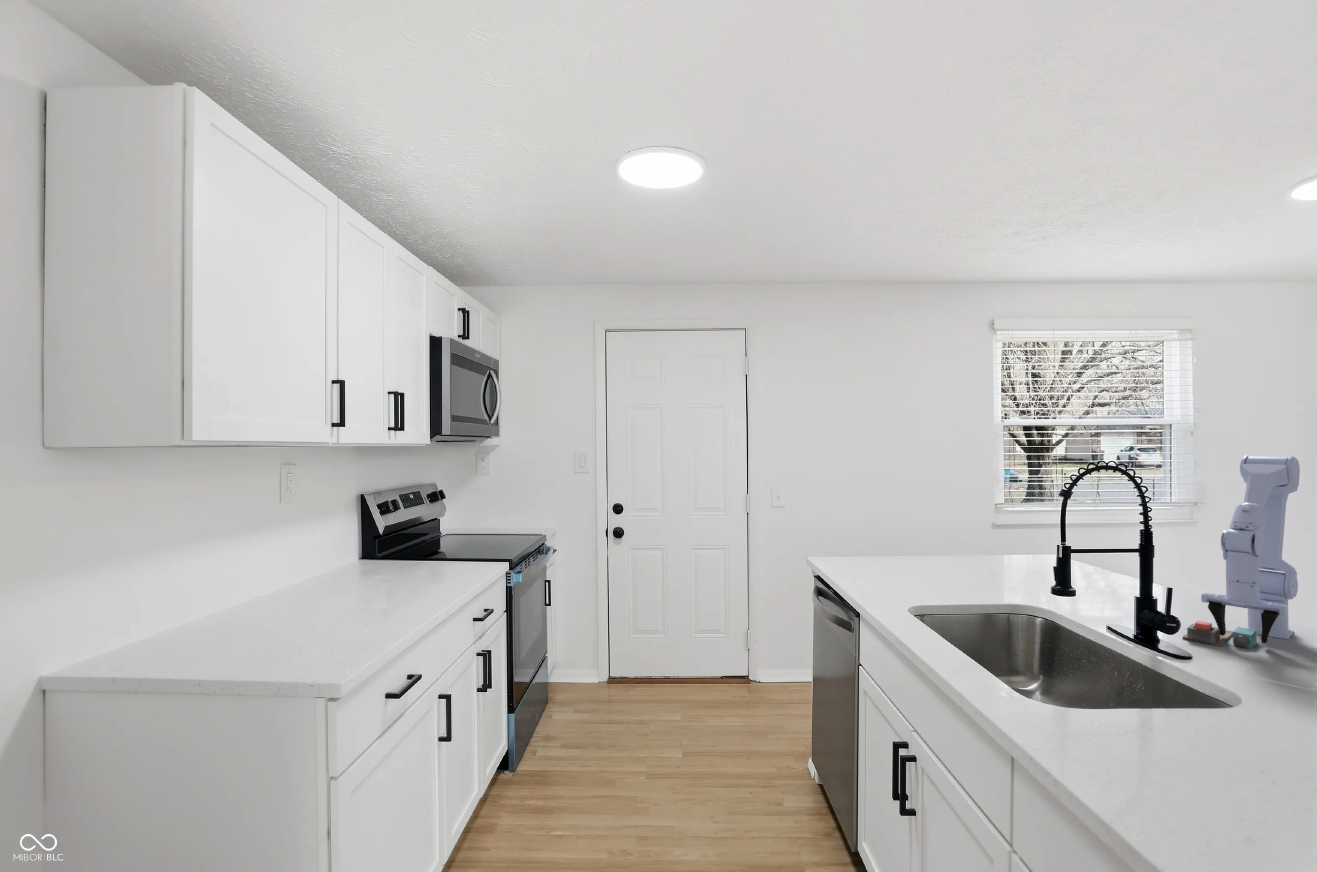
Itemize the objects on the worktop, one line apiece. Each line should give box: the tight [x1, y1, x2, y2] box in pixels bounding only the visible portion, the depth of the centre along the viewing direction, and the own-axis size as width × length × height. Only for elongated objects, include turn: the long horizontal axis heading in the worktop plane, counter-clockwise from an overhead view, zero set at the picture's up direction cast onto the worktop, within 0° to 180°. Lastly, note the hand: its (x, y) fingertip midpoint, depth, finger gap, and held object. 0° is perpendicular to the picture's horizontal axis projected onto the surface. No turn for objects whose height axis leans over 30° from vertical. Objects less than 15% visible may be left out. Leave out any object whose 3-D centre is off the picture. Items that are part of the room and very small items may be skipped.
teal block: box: [1232, 626, 1258, 649], centre depth 146 cm, size 8×3×3 cm, turn 128°
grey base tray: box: [1182, 623, 1234, 647], centre depth 151 cm, size 14×7×3 cm, turn 128°
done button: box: [1194, 620, 1213, 631], centre depth 148 cm, size 3×3×2 cm
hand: (1243, 638), depth 146 cm, fingers open, 7 cm apart
